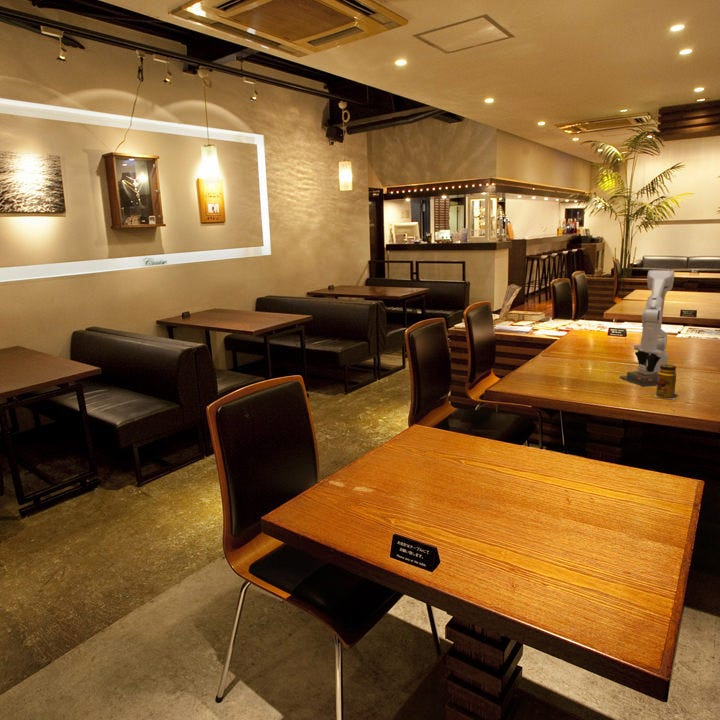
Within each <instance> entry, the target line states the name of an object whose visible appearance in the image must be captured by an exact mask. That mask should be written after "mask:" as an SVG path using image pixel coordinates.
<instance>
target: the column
mask: <svg viewBox="0 0 720 720" xmlns="http://www.w3.org/2000/svg"><path fill="white" fill-rule="evenodd" d="M638 368H639V369H638V371H639V373H638V374H641V375H644V376H650V375H654V371H655V370H654V371H653V372H648V363H643V364H639V363H638Z"/></svg>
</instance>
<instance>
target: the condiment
mask: <svg viewBox="0 0 720 720" xmlns="http://www.w3.org/2000/svg"><path fill="white" fill-rule="evenodd" d="M676 369H677V367H676V365H673V364H667V365H661V366H660V371H659V372H657V373H658V381H657V386H656V393H655V394H654V395H653V396H652V397H655V398H659V399H666V400H676V398H678V396H679V394H680V393H676V381H677V373H676V371H677V370H676Z"/></svg>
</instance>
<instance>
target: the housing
mask: <svg viewBox="0 0 720 720" xmlns="http://www.w3.org/2000/svg"><path fill="white" fill-rule="evenodd" d="M638 373H639V370H634V371H627V373H626V375H620V376H619V379H620V378H621V380H623V381H625V382H629V383H631V384H634V385H637V386H640V387H642V388H646V387H655V386H656V387H657V381H658V373H659V372H654V375H650V376H644V375H641V374H638Z"/></svg>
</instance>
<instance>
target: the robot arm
mask: <svg viewBox="0 0 720 720" xmlns="http://www.w3.org/2000/svg"><path fill="white" fill-rule="evenodd" d="M674 279H675V271H674V270H673V269H671V270H659V269H658V270H655V269H654V270H652V269H650V270H648V271H647V276H646V283H647V288H648V290H650V291H651V295H649V296H648V297H647V299H646V304H645V309H643V310H642V316H641V322H642V325H641V327H642V333H641V338H640V344H635V345H634V346H633V350H634V351H636V352H634V355H635V356H636V358H637V361H638V362H637V363H638V365H639V364H643V363H648V372H653V371H654V370H655V371H654V372H655V373H659V371H660V366H661V365H668V360H669V359H668V353H667V351H666V349H667V344H668V343H667V342H668V334H667V332H666V331H664V330H663V328H662V323H663V315H664V309H665V308H664V307H665V300H666V299H665V298H666V295H667V293H668V292H669V291H671V290H672V289H673V286H674V281H675V280H674ZM637 369H638V370H639V367H637Z"/></svg>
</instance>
